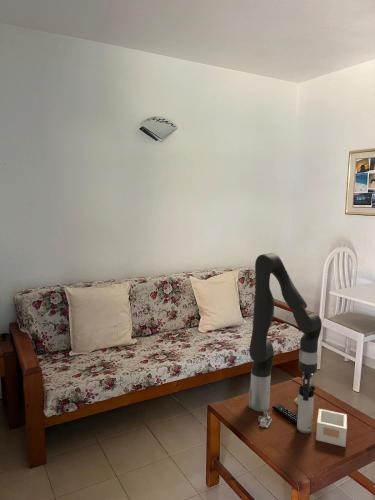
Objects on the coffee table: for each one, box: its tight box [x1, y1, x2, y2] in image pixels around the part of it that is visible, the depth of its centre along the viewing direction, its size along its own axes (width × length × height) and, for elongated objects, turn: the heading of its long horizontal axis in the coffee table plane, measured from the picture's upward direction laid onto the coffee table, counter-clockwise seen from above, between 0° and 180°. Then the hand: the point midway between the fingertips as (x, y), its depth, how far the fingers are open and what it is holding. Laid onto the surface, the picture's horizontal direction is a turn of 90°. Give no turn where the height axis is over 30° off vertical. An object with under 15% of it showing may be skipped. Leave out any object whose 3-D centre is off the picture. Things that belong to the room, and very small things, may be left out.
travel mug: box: [296, 384, 316, 434], centre depth 165 cm, size 6×7×20 cm
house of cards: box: [257, 408, 273, 429], centre depth 171 cm, size 9×9×8 cm
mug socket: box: [315, 408, 348, 448], centre depth 161 cm, size 11×12×8 cm
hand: (306, 395), depth 164 cm, fingers open, 8 cm apart
